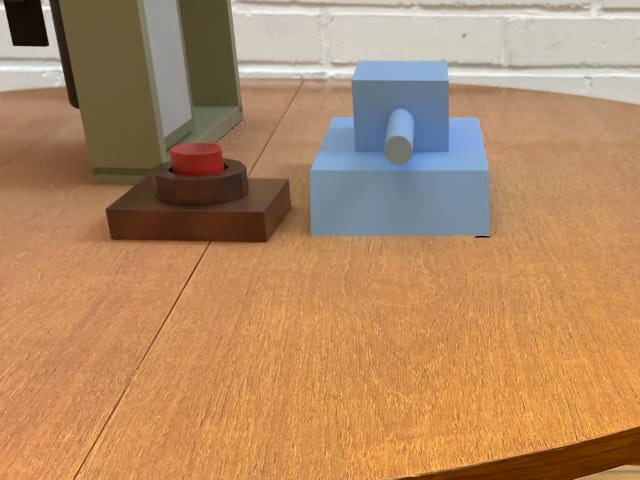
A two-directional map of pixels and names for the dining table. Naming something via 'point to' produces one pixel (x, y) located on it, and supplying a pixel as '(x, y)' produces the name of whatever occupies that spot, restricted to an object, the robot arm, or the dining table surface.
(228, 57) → the window frame
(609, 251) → the dining table surface
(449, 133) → the toy tank
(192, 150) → the button
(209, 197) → the button block
